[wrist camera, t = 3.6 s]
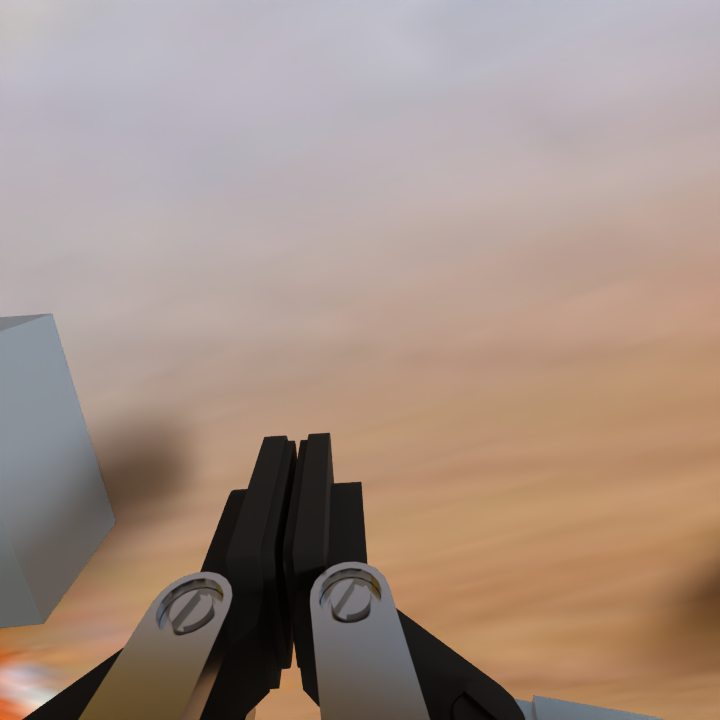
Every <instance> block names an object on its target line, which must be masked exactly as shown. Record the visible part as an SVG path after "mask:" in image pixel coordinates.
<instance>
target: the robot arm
mask: <svg viewBox="0 0 720 720" xmlns="http://www.w3.org/2000/svg"><path fill="white" fill-rule="evenodd" d="M293 644H294V645H295V652H296V659H297V666H298V668H300V670H301V677H302V684H303V690H304V691H305V692H306V693H307V694H308V695H309V696H310V697H311V699H312V700H313V701H314V702H315V703H316V704H317V705H318V706H319V707H320V713H321V720H663V719H660V718H657V717H653V716H647V715H642V714H636V713H631V712H625V711H619V710H614V709H608V708H603V707H597V706H591V705H586V704H580V703H574V702H569V701H563V700H558V699H552V698H546V697H541V696H535V695H533V701H532V702H529V701H524V700H518V699H514V698H513V697H512V696H511V695H510V694H509V693H508V692H507V691H506V690H505V689H504V688H503V687H502V686H501V685H499V684H498V683H497V682H495V681H494V680H492V679H491V678H490V677H488V676H487V675H486V674H484V673H483V672H482V671H480V670H479V669H478V668H476V667H475V666H474V665H472V664H471V663H470V662H468V661H467V660H465V659H464V658H463V657H461V656H460V655H459V654H457V653H456V652H455V651H453V650H452V649H451V648H449V647H448V646H447V645H445V644H444V643H442V642H441V641H440V640H438V639H437V638H436V637H434V636H433V635H432V634H430V633H429V632H428V631H426V630H425V629H424V628H422V627H421V626H420V625H418V624H417V623H415V622H414V621H413V620H411V619H410V618H409V617H407V616H406V615H405V614H403V613H402V612H401V611H399V610H398V609H397V608H396V607H395V603H394V600H393V597H392V594H391V590H390V587H389V585H388V583H387V581H386V579H385V577H384V576H383V575H382V574H381V573H380V572H379V571H378V570H377V569H376V568H374V567H372V566H370V565H368V564H367V552H366V539H365V525H364V512H363V498H362V485H361V482H351V483H335V484H334V477H333V464H332V452H331V439H330V433H320V434H309V435H308V440H301V441H300V447H299V453H298V459H297V452H296V444H295V441H288V439H287V436H271V437H264V440H263V443H262V446H261V449H260V452H259V455H258V458H257V461H256V464H255V467H254V471H253V474H252V477H251V480H250V483H249V486H248V489H241V490H233V491H231V493H230V495H229V497H228V500H227V502H226V505H225V508H224V510H223V513H222V516H221V518H220V521H219V524H218V526H217V529H216V532H215V534H214V537H213V540H212V542H211V545H210V547H209V550H208V553H207V555H206V558H205V561H204V563H203V566H202V569H201V571H200V572H197V573H193V574H190V575H187V576H184V577H182V578H180V579H178V580H176V581H175V582H173V583H171V584H170V585H169V586H167V587H166V588H165V589H164V590H163V591H161V592H160V594H159V595H158V596H157V597H156V599H155V600H154V601H153V602H152V604H151V605H150V607H149V609H148V610H147V612H146V613H145V615H144V617H143V618H142V620H141V621H140V623H139V624H138V626H137V628H136V629H135V631H134V632H133V634H132V636H131V637H130V639H129V640H128V642H127V643H126V645H125V647H124V648H122V649H121V650H120V651H118V652H117V653H115V654H114V655H112V656H111V657H110V658H108V659H107V660H105V661H104V662H103V663H101V664H100V665H98V666H97V667H96V668H94V669H93V670H91V671H90V672H89V673H87V674H86V675H84V676H83V677H82V678H80V679H79V680H77V681H76V682H75V683H73V684H72V685H70V686H69V687H67V688H66V689H65V690H63V691H62V692H60V693H59V694H58V695H56V696H55V697H53V698H52V699H51V700H49V701H48V702H46V703H45V704H44V705H42V706H41V707H39V708H38V709H37V710H35V711H34V712H32V713H31V714H30V715H28V716H27V717H25V718H24V719H22V720H255V713H256V709H255V706H256V705H257V704H258V703H259V702H260V701H261V700H262V699H263V698H264V697H265V696H266V695H267V694H268V693H269V692H270V689H278V688H279V686H280V678H281V670H282V669H289V668H290V667H291V662H292V653H293Z"/></svg>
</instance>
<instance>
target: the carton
mask: <svg viewBox="0 0 720 720" xmlns="http://www.w3.org/2000/svg"><path fill="white" fill-rule="evenodd" d="M115 523H116V522H115V518H114V515H113V512H112V509H111V505H110V502H109V499H108V495H107V492H106V489H105V486H104V482H103V479H102V476H101V472H100V469H99V466H98V463H97V459H96V456H95V453H94V449H93V446H92V443H91V440H90V436H89V433H88V430H87V426H86V423H85V420H84V417H83V413H82V410H81V407H80V403H79V400H78V397H77V394H76V390H75V387H74V384H73V380H72V377H71V374H70V370H69V367H68V364H67V361H66V357H65V354H64V351H63V347H62V344H61V341H60V338H59V334H58V331H57V328H56V324H55V321H54V318H53V315H52V314H40V315H27V316H13V317H0V628H6V627H16V626H26V625H36V624H44V623H45V621H46V620H47V618H48V617H49V616H50V614H51V613H52V611H53V610H54V609H55V607H56V606H57V604H58V603H59V602H60V600H61V599H62V597H63V596H64V595H65V593H66V592H67V590H68V589H69V588H70V586H71V585H72V583H73V582H74V581H75V579H76V578H77V576H78V575H79V573H80V572H81V571H82V569H83V568H84V566H85V565H86V564H87V562H88V561H89V559H90V558H91V557H92V555H93V554H94V552H95V551H96V550H97V548H98V547H99V545H100V544H101V543H102V541H103V540H104V538H105V537H106V536H107V534H108V533H109V531H110V530H111V529H112V527H113V526H114V524H115Z"/></svg>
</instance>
